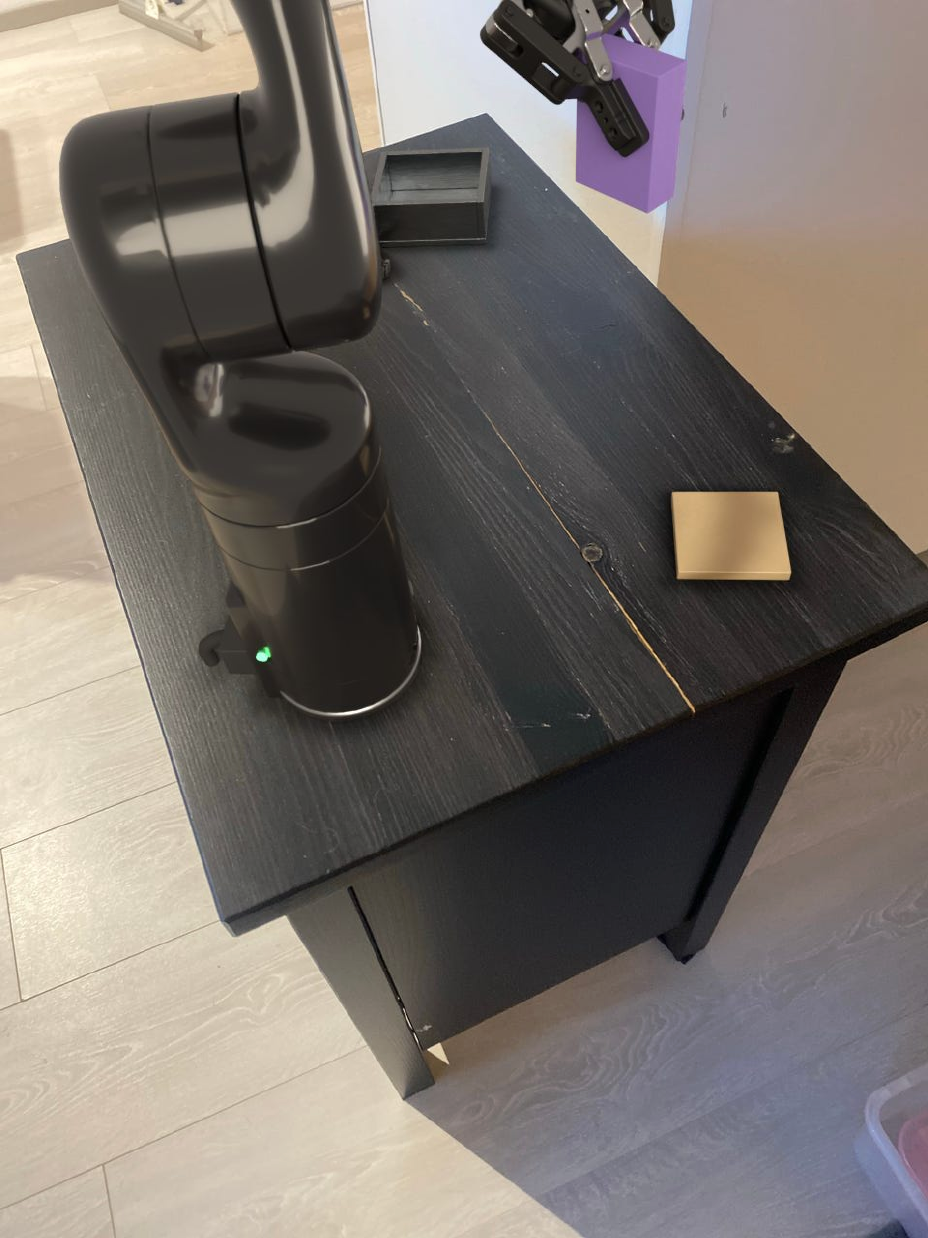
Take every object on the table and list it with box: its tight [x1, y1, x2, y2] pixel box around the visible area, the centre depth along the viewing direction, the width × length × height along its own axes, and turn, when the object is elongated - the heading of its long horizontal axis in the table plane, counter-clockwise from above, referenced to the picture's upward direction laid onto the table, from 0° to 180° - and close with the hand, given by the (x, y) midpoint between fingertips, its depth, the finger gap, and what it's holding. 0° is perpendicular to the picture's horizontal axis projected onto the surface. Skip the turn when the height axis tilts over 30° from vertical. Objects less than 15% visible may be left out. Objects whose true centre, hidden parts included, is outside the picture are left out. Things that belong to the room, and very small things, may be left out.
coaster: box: [670, 491, 792, 581], centre depth 62 cm, size 7×7×1 cm
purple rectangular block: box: [575, 33, 688, 214], centre depth 57 cm, size 2×6×8 cm, turn 43°
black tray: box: [371, 147, 492, 248], centre depth 86 cm, size 10×9×4 cm
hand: (653, 136), depth 56 cm, fingers closed on purple rectangular block, 2 cm apart
